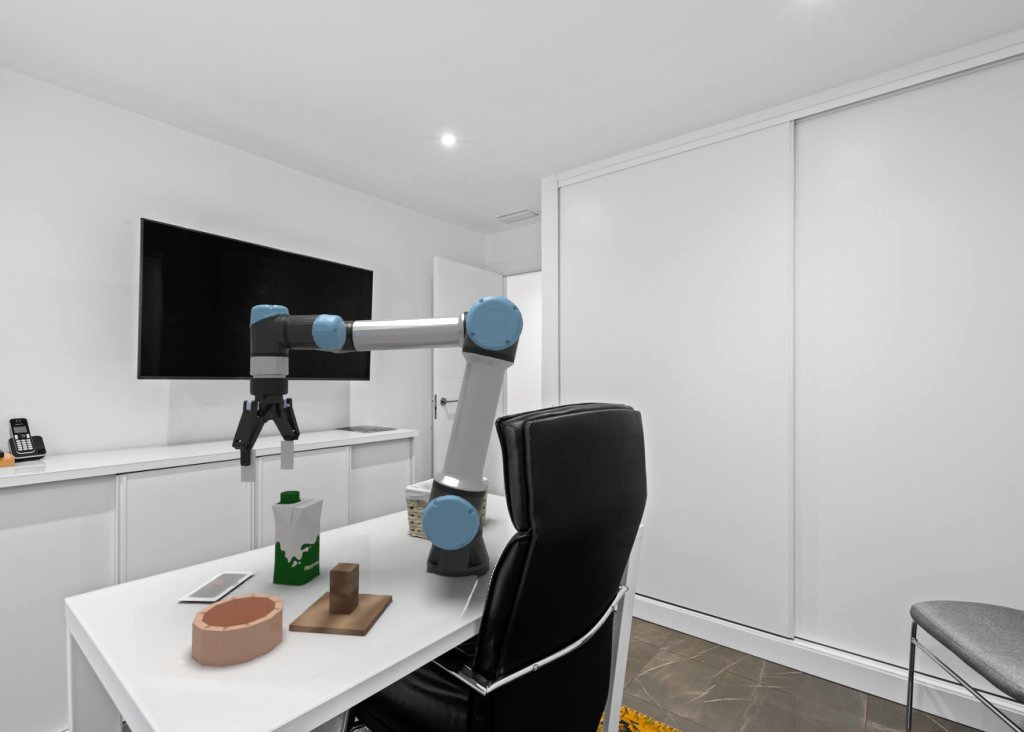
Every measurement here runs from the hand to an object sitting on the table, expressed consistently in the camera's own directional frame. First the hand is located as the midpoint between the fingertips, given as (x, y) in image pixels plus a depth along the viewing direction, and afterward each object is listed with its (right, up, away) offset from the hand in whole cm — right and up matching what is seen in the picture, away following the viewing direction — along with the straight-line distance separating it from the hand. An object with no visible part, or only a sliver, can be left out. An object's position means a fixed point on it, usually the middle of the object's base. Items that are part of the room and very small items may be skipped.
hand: (268, 475), depth 108 cm
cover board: (+21, -24, -13) cm, 34 cm away
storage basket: (+33, -27, +44) cm, 61 cm away
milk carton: (+4, -25, +4) cm, 26 cm away
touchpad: (-11, -25, +1) cm, 28 cm away
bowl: (+6, -24, -23) cm, 34 cm away
